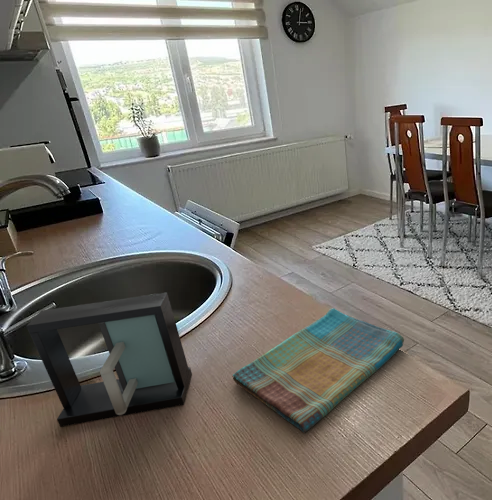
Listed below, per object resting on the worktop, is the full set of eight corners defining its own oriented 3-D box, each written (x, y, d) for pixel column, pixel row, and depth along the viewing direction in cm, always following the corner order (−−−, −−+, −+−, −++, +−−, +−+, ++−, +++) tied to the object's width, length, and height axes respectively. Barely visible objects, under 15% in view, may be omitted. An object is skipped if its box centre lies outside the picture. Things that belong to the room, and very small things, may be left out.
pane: (107, 425, 56) (78, 352, 51) (125, 387, 63) (100, 320, 58) (164, 414, 57) (141, 342, 52) (176, 378, 64) (155, 311, 59)
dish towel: (408, 347, 70) (407, 334, 69) (306, 437, 54) (304, 422, 53) (333, 315, 80) (332, 304, 79) (231, 383, 65) (228, 370, 64)
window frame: (60, 427, 59) (17, 334, 53) (80, 393, 65) (44, 307, 59) (184, 405, 61) (156, 313, 55) (192, 374, 67) (168, 289, 61)
